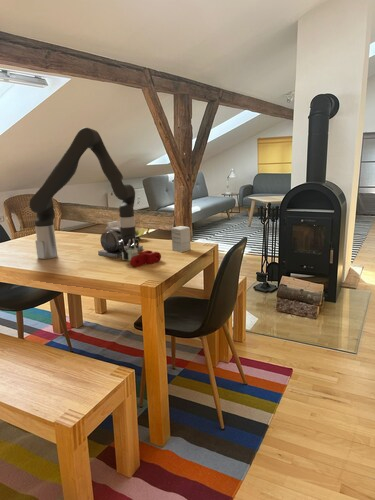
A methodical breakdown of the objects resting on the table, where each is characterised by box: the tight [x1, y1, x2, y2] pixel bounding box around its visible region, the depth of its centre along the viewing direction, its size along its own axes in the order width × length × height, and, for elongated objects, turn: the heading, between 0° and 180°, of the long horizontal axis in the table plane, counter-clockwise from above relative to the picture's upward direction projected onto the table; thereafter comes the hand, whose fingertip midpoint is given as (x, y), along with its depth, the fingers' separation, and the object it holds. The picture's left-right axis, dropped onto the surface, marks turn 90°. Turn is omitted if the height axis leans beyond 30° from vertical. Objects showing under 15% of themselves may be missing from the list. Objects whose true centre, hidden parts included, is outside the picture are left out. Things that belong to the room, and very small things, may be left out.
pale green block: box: [121, 248, 139, 262], centre depth 196 cm, size 5×8×5 cm, turn 55°
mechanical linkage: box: [129, 249, 162, 268], centre depth 188 cm, size 16×7×5 cm, turn 140°
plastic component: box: [136, 227, 145, 240], centre depth 237 cm, size 20×7×10 cm
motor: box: [97, 220, 144, 259], centre depth 209 cm, size 20×14×16 cm
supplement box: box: [171, 225, 192, 253], centre depth 209 cm, size 7×7×13 cm
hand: (130, 258), depth 197 cm, fingers closed on pale green block, 5 cm apart
